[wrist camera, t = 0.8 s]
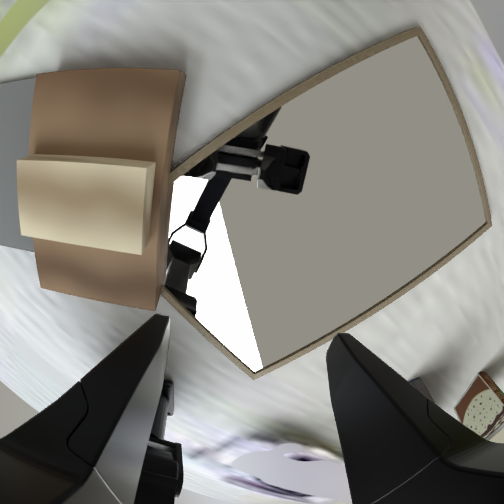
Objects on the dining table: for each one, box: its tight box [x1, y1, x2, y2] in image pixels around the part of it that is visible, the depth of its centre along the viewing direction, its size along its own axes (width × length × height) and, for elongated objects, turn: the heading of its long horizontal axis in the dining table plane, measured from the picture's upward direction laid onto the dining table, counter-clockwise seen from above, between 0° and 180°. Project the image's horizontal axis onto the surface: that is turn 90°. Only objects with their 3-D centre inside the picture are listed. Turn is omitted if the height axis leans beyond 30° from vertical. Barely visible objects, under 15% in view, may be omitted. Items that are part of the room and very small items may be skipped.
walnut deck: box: [29, 68, 186, 311], centre depth 17 cm, size 16×10×2 cm, turn 169°
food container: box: [454, 372, 504, 441], centre depth 31 cm, size 12×6×10 cm, turn 179°
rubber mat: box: [0, 78, 36, 252], centre depth 17 cm, size 14×9×1 cm, turn 169°
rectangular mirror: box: [160, 26, 492, 380], centre depth 21 cm, size 19×1×28 cm
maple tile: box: [17, 154, 156, 255], centre depth 15 cm, size 5×9×2 cm, turn 79°
